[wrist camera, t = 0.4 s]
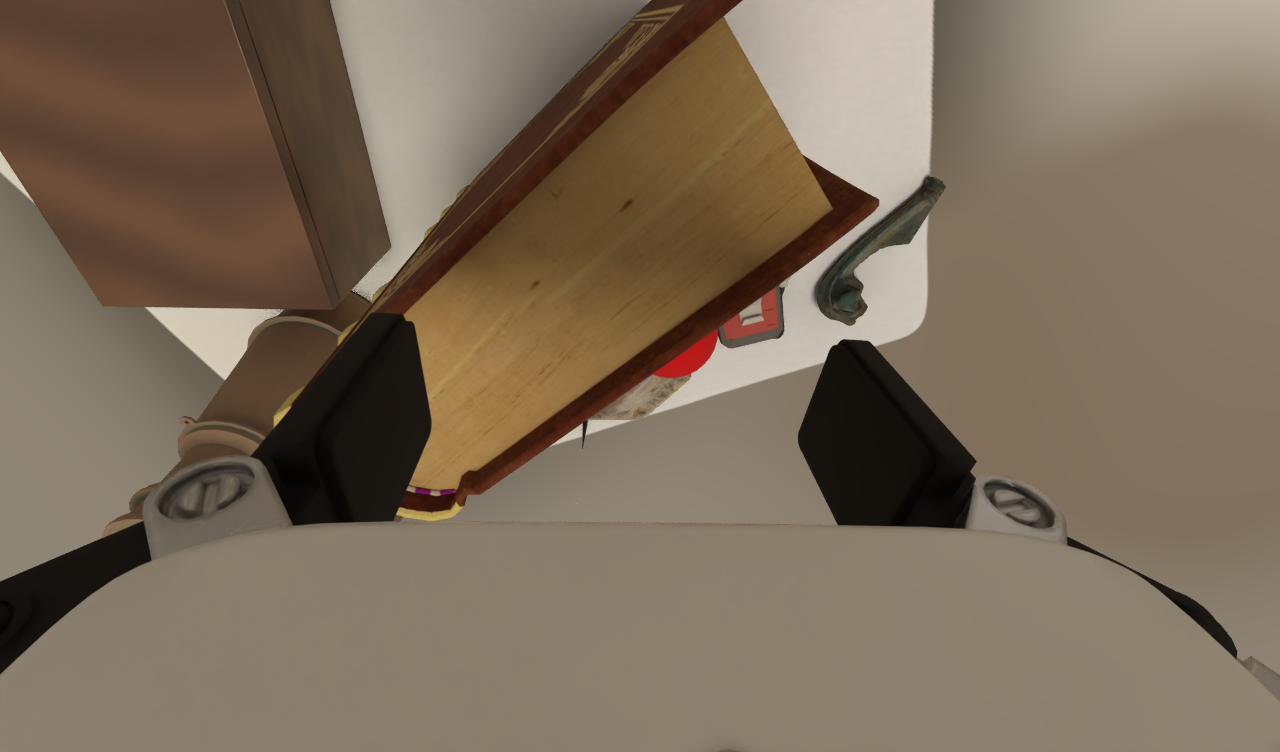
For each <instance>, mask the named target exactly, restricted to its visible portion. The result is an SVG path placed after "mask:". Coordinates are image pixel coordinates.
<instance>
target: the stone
mask: <svg viewBox="0 0 1280 752" xmlns="http://www.w3.org/2000/svg"><path fill="white" fill-rule="evenodd" d="M690 377H691V374H689V375H686V376H683V377H679V378H662V377H658V376H655V375H650V376H649V377H648V378H646V379H645V380H643V381H642V382H640V383H639V384H638V385H636V386H635V387H633V388H632V389H630V390H629V391H628V392H626V393H625V394H623V395H622V396H620V397H619V398H618V399H616V400H615V401H613V402H612V403H610V404H609V405H608V406H606V407H605V408H603V409H602V410H600V411H599V412H598V413H596V414H595V415H593V416H592V417H590V418H589V419H588V420H642V419H643V418H645V417H646V416H648V415H649V414H650V413H651V412H652V411H653V410H655V409H656V408H657V407H658V406H659V405H660V404H662V403H663V402H664V401H665V400H666V399H667V398H669V397H670V396H671V395H672V394H673V393H674V392H675V391H677V390H678V389H679V388H680V387H681V386H682V385H684V384H685V383H686V382H687V381H688V380H689V379H690Z"/></svg>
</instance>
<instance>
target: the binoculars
mask: <svg viewBox="0 0 1280 752" xmlns="http://www.w3.org/2000/svg"><path fill="white" fill-rule="evenodd" d="M370 306H371V304H370V303H369V302H368V301H366V300H365V299H363V298H361V297H360V296H358V295H356V294H354V293H351V292H349V293H348V294H347V295H346V296H345V297H344V299H343V300H342V301H341V302H340V303H339V304H338V305H337V306H336V307H335V308H334V310H311V309H285V310H284V311H283V312H281V313H280V314H279V315H278V316H277V317H273V318H270V319H267V320H265V321H264V322H263V323H261V324H260V325H258V326H257V327H256V328H255V329H254V330H253V332H252V334H251V335H250V337H249V339H248V347H247V351H246V352H245V354H244V355H243V357H242V358H241V359H240V361H239V362H238V364H237V365H236V366H235V368H234V369H233V371H232V372H231V373H230V375H229V376H228V378H227V379H226V380H225V382H224V384H223V385H222V386H221V388H220V389H219V390H218V392H217V393H216V395H215V396H214V397H213V399H212V400H211V402H210V403H209V404H208V406H207V407H206V409H205V410H204V412H203V413H202V414H201V416H200V417H199V418H198V420H197V421H195V420H194V419H193V418H191V417H187V416H183V417H181V418H180V423H181V424H182V425H184V426H185V427H186V428H185V429H184V430H183V431H182V433H181V434H180V436H179V438H178V453H179V456H180V458H181V461H180V462H179V463H178V464H177V465H176V466H175V467H174V468H173V469H172V470H171V471H170V473H169V474H168V475H167V476H166V477H168V476H169V475H171V474H173V473H174V472H176V471H178V470H179V469H181V468H183V467H186V466H188V465H191V464H193V463H195V462H198V461H201V460H205V459H208V458H212V457H216V456H223V455H232V454H235V455H247V456H251V455H252V454H253V452H254V451H255V450H256V449H257V448H258V446H259V445H260V444H261V443H262V442H263V440H264V439H265V438H266V437H267V436H268V434H269V433H270V432H271V431H272V430H273V429H274V414H275V413H276V412H277V410H278V409H279V408H280V407H281V406H282V404H283V403H284V402H285V401H286V400H287V398H288V397H289V396H290V395H291V394H293V393H294V392H296V391H298V390H299V389H301V388H302V387H304V386H306V385H307V384H308V382H309V381H310V380H311V379H312V378H313V376H314V375H315V374H316V373H317V371H318V370H319V369H320V368H321V366H322V365H323V364H324V363H325V362H326V360H327V359H328V358H329V357H330V355H331V354H332V353H333V352H334V350H335V349H336V348H337V347H338V337H339V336H340V335H341V334H342V332H343V331H344V330H345V329H346V328H347V327H348V326H350V325H352V324H353V323H355V322H356V321H358V320H359V319H360V318H361V317H362V316H363V315H364V313H365V312H366V311H367V310H368V308H369V307H370ZM166 477H165V478H166ZM158 484H159V483H156V484H152V485H149V486H148V487H146V488H143V489H141V490H140V491H138V492H137V493H135V494H134V495H133V497H132V498H131V500H130V502H129V505H130V506H129V507H130V511H131V512H130V513H128V514H125V515H123V516H120V517H118V518H116V519H115V520H113V521H112V522H110V523H109V524H108V525H107V526H106V527H105V529H104V531H103V533H102V538H104V537H106V536H108V535H111V534H113V533H115V532H118V531H120V530H122V529H125V528H127V527H130V526H132V525H134V524H137V523H139V522H141V521H144V520H143V515H142V510H143V502H144V501H145V499H146V497H147V496H148V494H149V493H150V491H151V490H152V489H153V488H154V487H155V486H156V485H158ZM402 518H403V517H402V516H399V515H396V516H395V518H394V521H401V519H402Z"/></svg>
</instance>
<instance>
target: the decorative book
mask: <svg viewBox="0 0 1280 752" xmlns="http://www.w3.org/2000/svg"><path fill="white" fill-rule="evenodd" d="M741 1H742V0H652V1H650V2H649V3H648V4H647V5H646V6H645V7H644V8H643V9H642V10H640V11H639V12H638V13H637V14H636V15H635V16H634V17H633V18H632V19H631V20H630V21H629V22H628V23H627V24H626V25H625V26H624V27H623V28H622V29H621V30H620V31H619V32H618V33H617V34H616V35H615V36H614V37H613V38H612V39H611V40H609V41H608V43H607V44H606V45H605V46H604V47H603V48H602V49H601V50H600V51H599V52H598V53H597V54H596V55H595V56H594V57H593V58H592V59H591V60H590V61H589V62H588V63H587V64H586V65H585V66H584V67H583V68H582V69H581V70H580V71H579V72H578V73H577V74H576V75H575V76H574V77H573V78H572V79H571V80H570V81H569V82H568V83H567V84H566V85H565V86H564V87H563V88H562V89H561V90H560V92H559V93H558V94H557V95H556V96H555V97H554V98H553V99H552V100H551V101H550V102H549V103H548V104H547V105H546V106H545V107H544V108H543V109H542V110H541V111H540V112H539V113H538V114H537V115H536V116H535V117H534V118H533V119H532V120H531V121H530V122H529V123H528V124H527V125H526V126H525V128H524V129H523V130H522V131H521V132H520V133H519V134H518V135H517V136H516V137H515V138H514V139H513V140H512V141H511V142H510V143H509V144H508V145H507V146H506V147H505V148H504V149H503V150H502V151H501V152H500V153H499V154H498V155H497V156H496V157H495V158H494V159H493V160H492V161H491V162H490V164H489V165H488V166H487V167H486V168H485V169H484V170H483V171H482V172H481V173H480V174H479V175H478V176H477V177H476V178H475V180H474V181H473V182H472V183H471V185H468V186H466V187H465V188H463V189H462V190H461V191H460V192H459V193H458V194H457V199H456V201H455V202H454V204H452V205H451V206H450V207H448V208H447V209H445V210H444V211H443V212H442V213H441V218H440V221H439V222H438V223H437V224H435V225H434V226H432V227H431V228H429V229H428V230H427V231H426V233H425V237H424V241H423V242H422V243H421V244H420V246H419V247H418V248H417V249H416V251H415V252H414V253H413V254H412V255H411V257H410V258H409V259H408V260H407V262H406V263H405V264H404V265H403V267H402V268H401V269H400V270H399V271H398V273H397V274H396V275H395V276H394V278H393V279H392V280H391V281H390V282H388V283H387V284H385V285H384V286H382V287H380V288H379V289H378V290H377V291H376V293H375V294H374V295H373V302H372V305H371V306H370V307H369V308H368V310H367V311H366V312H365V313H364V315H363V316H362V317H361V318H360V319H359V320H358V321H356V322H355V323H353V324H352V325H350V326H348V327H347V328H346V329H345V330H344V331H343V332H342V334H341V335H340V336H339V337H338V347H337V348H336V349H335V350H334V352H333V353H332V354H331V355H330V357H329V358H328V359H327V360H326V362H325V363H324V364H323V365H322V366H321V368H320V369H319V370H318V371H317V373H316V374H315V375H314V376H313V378H312V379H311V380H310V381H309V382H308V384H307V385H306V386H304V387H302V388H301V389H299V390H298V391H296V392H294V393H293V394H291V395H290V396H289V397H288V398H287V400H286V401H285V402H284V403H283V404H282V406H281V407H280V408H279V409H278V410H277V412H276V413H275V414H274V427H275V426H276V425H277V424H278V423H279V421H280V420H281V419H282V418H283V417H284V415H285V414H286V413H287V412H288V411H289V409H290V408H291V407H292V406H293V405H294V403H295V402H296V401H297V400H298V399H299V397H300V396H301V395H302V394H303V393H304V391H305V390H306V389H307V388H308V387H309V385H310V384H311V383H312V382H313V381H314V380H315V378H316V377H317V376H318V375H319V374H320V373H321V372H322V371H323V369H324V368H325V367H326V366H327V365H328V364H329V362H330V361H331V360H332V359H333V358H334V356H335V355H336V354H337V353H338V352H339V350H340V349H341V348H342V347H343V346H344V344H345V343H346V342H347V341H348V340H349V338H350V337H351V336H352V335H353V334H354V332H355V331H356V330H357V329H358V328H359V326H360V325H361V324H362V323H363V322H364V320H365V319H366V318H367V317H368V316H369V314H371V313H372V312H379V313H397V314H402V315H404V317H405V319H406V321H412V322H413V323H414V325H415V329H416V334H417V340H418V346H419V351H420V357H421V363H422V368H423V374H424V379H425V385H426V391H427V396H428V402H429V408H430V413H431V419H432V427H431V433H430V436H429V439H428V441H427V443H426V446H425V448H424V450H423V453H422V455H421V457H420V460H419V462H418V464H417V467H416V469H415V472H414V474H413V476H412V479H411V481H410V483H409V486H408V488H407V490H406V493H405V495H404V497H403V500H402V502H401V504H400V507H399V509H398V511H397V514H396V515H399V516H402V517H406V518H413V519H421V520H428V521H436V520H441V519H447V518H452V517H454V516H455V515H456V514H457V513H458V512H459V511H460V510H461V509H462V508H463V507H464V505H465V501H466V498H467V495H470V494H471V495H480V494H482V493H483V492H485V491H486V490H488V489H489V488H490V487H492V486H493V485H495V484H496V483H498V482H499V481H500V480H502V479H503V478H505V477H506V476H508V475H509V474H510V473H512V472H513V471H515V470H516V469H518V468H519V467H520V466H522V465H523V464H525V463H526V462H528V461H529V460H530V459H532V458H533V457H534V456H536V455H538V454H539V453H540V452H542V451H543V450H545V449H546V448H548V447H549V446H550V445H552V444H553V443H555V442H556V441H558V440H559V439H560V438H562V437H563V436H565V435H566V434H568V433H569V432H570V431H572V430H573V429H575V428H576V427H578V426H579V425H580V424H582V423H583V422H585V421H586V420H588V419H589V418H590V417H592V416H593V415H595V414H596V413H598V412H599V411H600V410H602V409H603V408H605V407H606V406H608V405H609V404H610V403H612V402H613V401H615V400H616V399H618V398H619V397H620V396H622V395H623V394H625V393H626V392H628V391H629V390H630V389H632V388H633V387H635V386H636V385H638V384H639V383H640V382H642V381H643V380H645V379H646V378H648V377H649V376H650V375H652V374H653V373H655V372H656V371H657V370H659V369H660V368H662V367H663V366H665V365H666V364H667V363H669V362H670V361H672V360H673V359H675V358H676V357H677V356H679V355H680V354H682V353H683V352H685V351H686V350H687V349H689V348H690V347H692V346H693V345H695V344H696V343H697V342H699V341H700V340H702V339H703V338H705V337H706V336H707V335H709V334H710V333H712V332H713V331H715V330H716V329H717V328H719V327H720V326H722V325H723V324H725V323H726V322H727V321H729V320H730V319H732V318H733V317H735V316H736V315H737V314H739V313H740V312H742V311H743V310H744V309H746V308H747V307H749V306H750V305H751V304H753V303H754V302H756V301H757V300H758V299H760V298H761V297H763V296H764V295H765V294H767V293H768V292H770V291H771V290H772V289H774V288H775V287H777V286H778V285H779V284H781V283H782V282H783V281H785V280H786V279H787V278H789V277H790V276H791V275H793V274H794V273H795V272H797V271H798V270H799V269H801V268H802V267H804V266H805V265H806V264H808V263H809V262H810V261H812V260H813V259H814V258H816V257H817V256H818V255H819V254H821V253H822V252H823V251H825V250H826V249H827V248H828V247H830V246H831V245H832V244H834V243H835V242H836V241H837V240H839V239H840V238H841V237H843V236H844V235H845V234H846V233H848V232H849V231H850V230H852V229H853V228H854V227H855V226H857V225H858V224H859V223H860V222H862V221H863V220H864V219H866V218H867V217H868V216H869V215H871V214H872V213H873V212H874V211H875V210H876V209H877V208H878V206H879V199H877V198H875V197H874V196H872V195H870V194H868V193H866V192H864V191H862V190H861V189H859V188H857V187H855V186H853V185H852V184H850V183H848V182H846V181H845V180H843V179H841V178H839V177H838V176H836V175H834V174H833V173H831V172H829V171H828V170H826V169H824V168H823V167H821V166H820V165H818V164H817V163H815V162H813V161H812V160H810V159H809V158H807V157H806V156H804V155H802V154H801V152H800V150H799V148H798V147H797V145H796V143H795V141H794V140H793V138H792V136H791V134H790V133H789V131H788V129H787V127H786V126H785V124H784V122H783V120H782V119H781V117H780V115H779V113H778V112H777V110H776V108H775V106H774V105H773V103H772V101H771V99H770V98H769V96H768V94H767V92H766V91H765V89H764V87H763V85H762V84H761V82H760V80H759V78H758V77H757V75H756V73H755V71H754V70H753V68H752V66H751V64H750V63H749V61H748V59H747V57H746V56H745V54H744V52H743V50H742V48H741V47H740V45H739V43H738V41H737V40H736V38H735V36H734V34H733V33H732V31H731V29H730V27H729V26H728V24H727V22H726V20H725V19H724V17H723V16H724V15H725V14H727V13H728V12H729V11H730V10H731V9H732V8H734V7H735V6H736V5H737V4H739V3H740V2H741Z"/></svg>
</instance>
